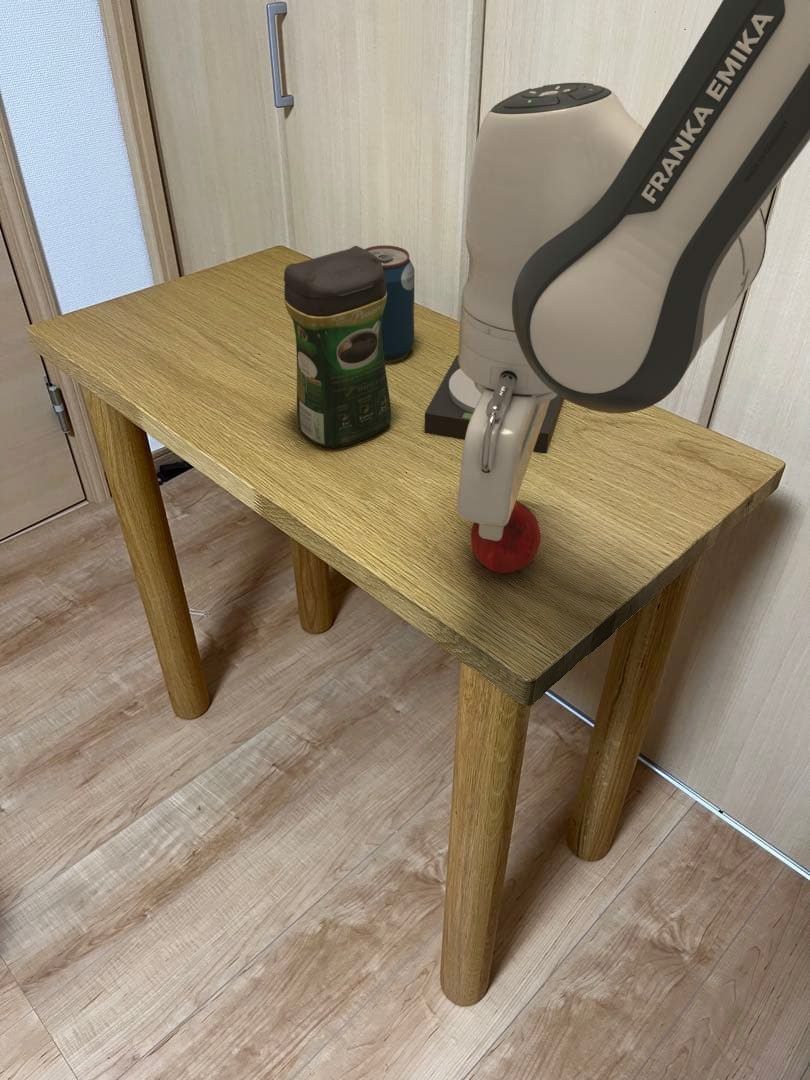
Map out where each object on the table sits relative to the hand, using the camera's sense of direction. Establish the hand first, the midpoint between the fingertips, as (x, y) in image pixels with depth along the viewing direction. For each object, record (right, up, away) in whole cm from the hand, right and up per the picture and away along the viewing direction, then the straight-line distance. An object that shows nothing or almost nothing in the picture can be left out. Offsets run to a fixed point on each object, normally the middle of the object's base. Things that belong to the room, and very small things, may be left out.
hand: (504, 497), depth 68 cm
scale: (+2, +11, +25) cm, 27 cm away
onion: (0, -6, +5) cm, 8 cm away
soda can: (-10, +19, +35) cm, 41 cm away
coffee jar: (-15, +9, +22) cm, 28 cm away
